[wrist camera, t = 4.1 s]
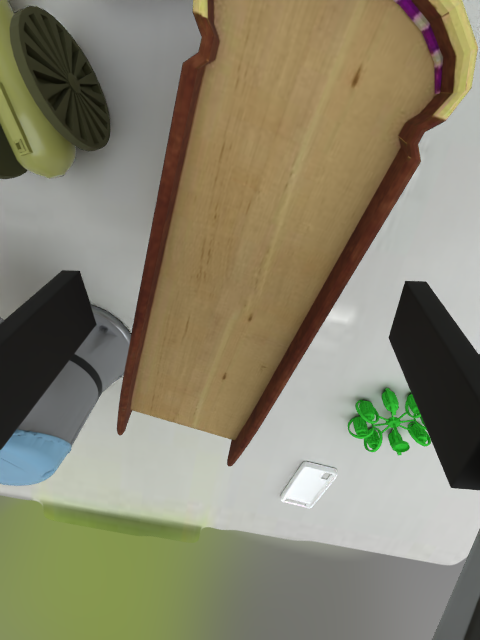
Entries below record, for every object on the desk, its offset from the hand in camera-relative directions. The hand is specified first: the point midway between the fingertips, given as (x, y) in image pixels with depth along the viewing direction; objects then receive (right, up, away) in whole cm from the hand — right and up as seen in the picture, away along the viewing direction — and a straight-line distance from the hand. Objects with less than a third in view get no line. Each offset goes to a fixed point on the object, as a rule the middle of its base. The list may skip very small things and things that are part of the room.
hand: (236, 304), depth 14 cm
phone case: (+15, -36, +60) cm, 72 cm away
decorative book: (+3, +17, +25) cm, 30 cm away
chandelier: (+26, -17, +45) cm, 55 cm away
